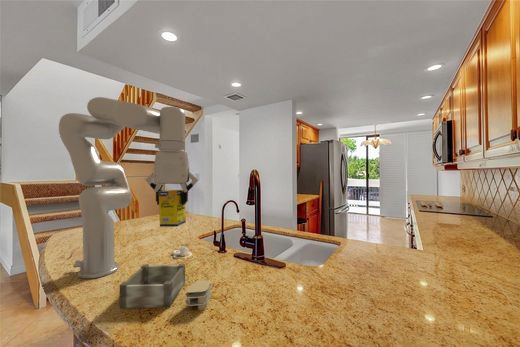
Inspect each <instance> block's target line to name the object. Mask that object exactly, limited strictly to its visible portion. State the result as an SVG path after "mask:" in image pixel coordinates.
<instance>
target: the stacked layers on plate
mask: <svg viewBox="0 0 520 347" xmlns="http://www.w3.org/2000/svg"><path fill="white" fill-rule="evenodd" d="M211 283H212V280H205V279H204V280H203V279H198V280H197V281H195V282H193V283H192V284H190V285H189V286H187V287H186V288H185V291H186V293H185V297H186V301H185V304H186V305H187V306H189V307H191V306H192V307H193V306H197V310H199V311H204V310H206V309H207V308H208V303H209V301H210V300H211V296H212V291H211V289H212V284H211Z"/></svg>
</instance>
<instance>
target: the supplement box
mask: <svg viewBox="0 0 520 347" xmlns="http://www.w3.org/2000/svg"><path fill="white" fill-rule="evenodd" d="M182 192H183V189H166V190H162V191H159V205H158V206H159V207H158V211H159V213H158V215H159V217H158V218H159V227H160V228H161V227H164V228H165V227H169V228H171V227H172V228H173V227H175V228H177V227H179V226H181V225H183V224H185V223H186V219H187V218H186V204H185V205H182V204H181V194H182Z"/></svg>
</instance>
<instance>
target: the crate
mask: <svg viewBox="0 0 520 347" xmlns="http://www.w3.org/2000/svg"><path fill="white" fill-rule="evenodd" d="M185 283H186V263H178V264H169V265H168V264H165V265H164V264H163V265H161V264H160V265H156V264H155V265H150V264H149V263H148V264H147V263H146V264H142V265H141V266H140V268H139V269H138V270H137V271H136V272H134V274H132V275H131V276H129V278H128V279H127V280H125V281H123V282H121V283H120V284H119V309H147V308H148V309H151V308H152V309H153V308H159V309H160V308H171V307H172V305H173V304H174V302H175V300H176V298H177V297H178V296H179V294H180V292H181V290H182V288H184V286H185Z"/></svg>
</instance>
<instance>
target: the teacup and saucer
mask: <svg viewBox="0 0 520 347" xmlns="http://www.w3.org/2000/svg"><path fill="white" fill-rule="evenodd" d="M187 247H188V246H187V245H181V246H179V249H175V250H173V251H172V255H173V258H174V259H187V258H190V257H191V256H192V255H193V253H192V252H191V251H189V250H188V248H187ZM187 254H189V255H187ZM186 255H187V256H186ZM178 256H181V257H178Z"/></svg>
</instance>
